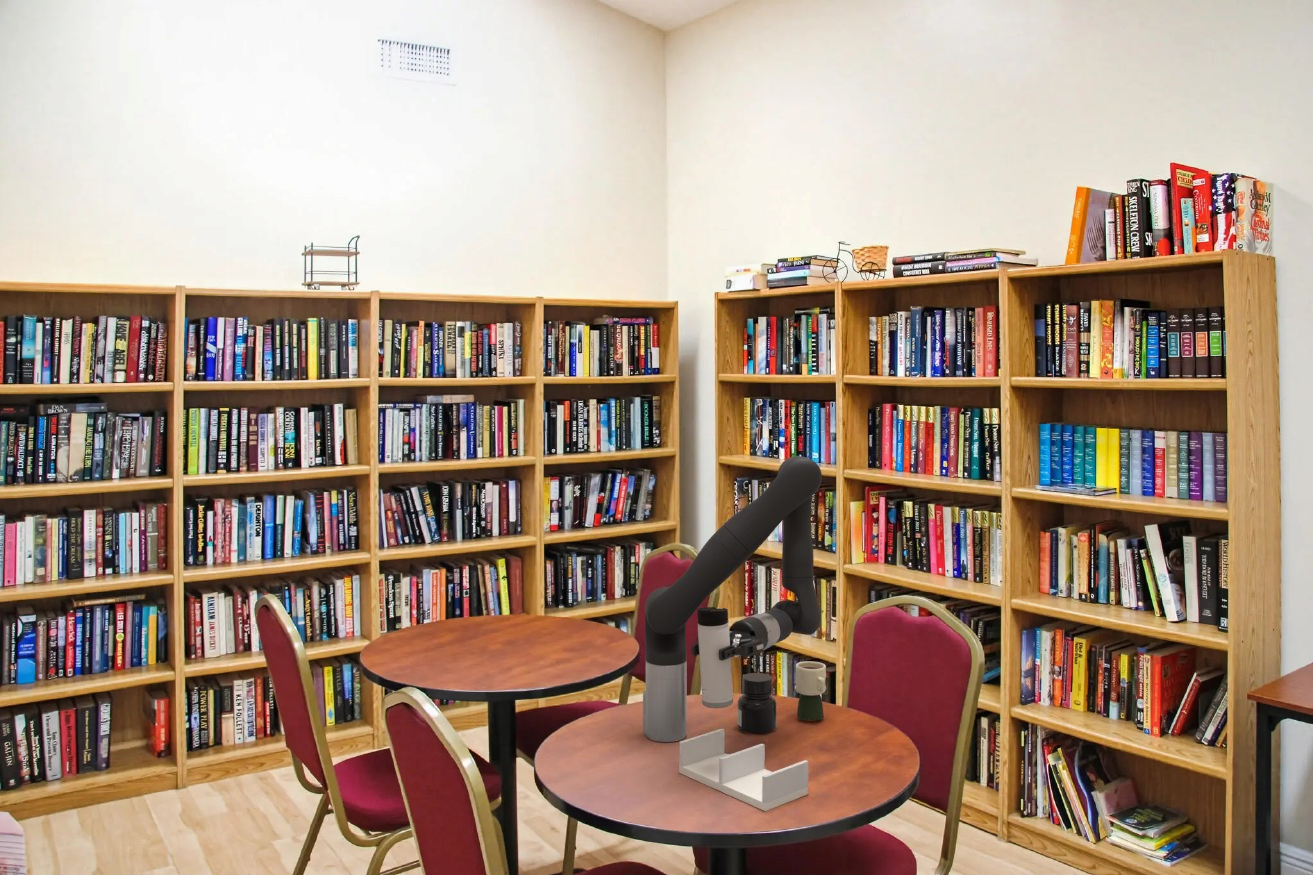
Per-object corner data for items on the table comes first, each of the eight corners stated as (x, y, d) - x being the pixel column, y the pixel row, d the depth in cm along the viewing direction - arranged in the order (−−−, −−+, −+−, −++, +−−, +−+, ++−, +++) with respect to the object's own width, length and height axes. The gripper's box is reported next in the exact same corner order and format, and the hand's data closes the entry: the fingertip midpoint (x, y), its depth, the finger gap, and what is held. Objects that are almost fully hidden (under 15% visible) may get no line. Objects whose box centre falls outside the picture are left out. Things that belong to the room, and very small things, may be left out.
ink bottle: (750, 718, 240) (751, 668, 240) (783, 726, 235) (784, 675, 235) (729, 730, 233) (729, 678, 232) (762, 738, 227) (763, 685, 227)
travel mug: (695, 706, 204) (689, 609, 203) (711, 696, 210) (706, 601, 208) (723, 711, 201) (717, 611, 199) (738, 700, 206) (733, 603, 205)
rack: (679, 772, 208) (679, 741, 207) (721, 758, 216) (721, 728, 215) (765, 811, 190) (765, 777, 189) (807, 793, 197) (808, 761, 197)
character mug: (836, 724, 237) (836, 669, 236) (810, 728, 234) (810, 673, 233) (810, 710, 246) (810, 657, 246) (785, 714, 243) (785, 661, 243)
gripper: (726, 612, 219) (677, 629, 207) (782, 620, 210) (734, 639, 197) (728, 646, 220) (679, 666, 207) (784, 656, 211) (736, 677, 198)
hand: (706, 653), depth 202 cm, fingers closed on travel mug, 6 cm apart
